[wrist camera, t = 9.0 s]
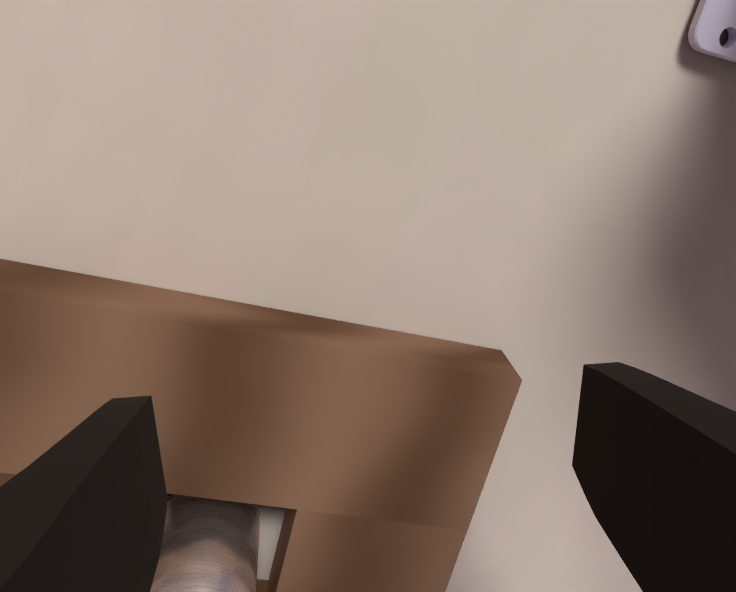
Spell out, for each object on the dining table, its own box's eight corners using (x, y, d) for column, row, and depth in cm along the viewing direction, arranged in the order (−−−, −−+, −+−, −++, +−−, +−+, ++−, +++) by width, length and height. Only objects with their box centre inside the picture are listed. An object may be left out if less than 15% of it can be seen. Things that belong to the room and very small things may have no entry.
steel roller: (255, 472, 22) (245, 618, 17) (263, 548, 23) (257, 707, 18) (157, 482, 22) (114, 634, 16) (171, 558, 23) (134, 723, 18)
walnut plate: (501, 350, 22) (521, 380, 20) (379, 702, 27) (386, 751, 25) (-32, 253, 19) (-67, 277, 17) (-52, 671, 24) (-80, 725, 22)
